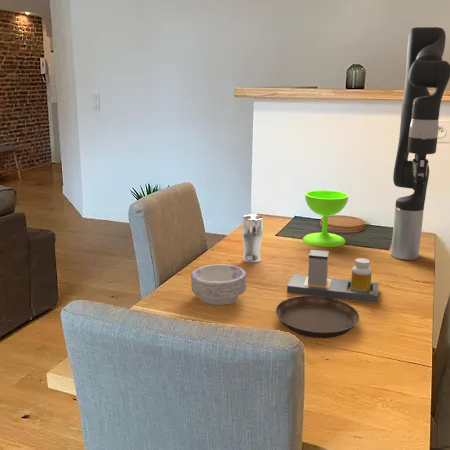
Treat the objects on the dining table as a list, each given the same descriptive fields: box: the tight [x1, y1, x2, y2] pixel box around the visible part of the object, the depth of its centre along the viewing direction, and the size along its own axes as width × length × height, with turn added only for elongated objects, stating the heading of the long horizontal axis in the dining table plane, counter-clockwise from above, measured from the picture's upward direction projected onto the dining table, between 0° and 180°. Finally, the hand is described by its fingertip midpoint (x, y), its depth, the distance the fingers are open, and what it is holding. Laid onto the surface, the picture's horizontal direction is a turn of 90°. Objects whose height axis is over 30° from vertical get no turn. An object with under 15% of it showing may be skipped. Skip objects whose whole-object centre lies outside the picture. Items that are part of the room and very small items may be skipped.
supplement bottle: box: [350, 257, 373, 293], centre depth 149 cm, size 5×5×10 cm
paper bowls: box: [190, 263, 247, 306], centre depth 145 cm, size 15×15×8 cm
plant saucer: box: [275, 295, 360, 339], centre depth 132 cm, size 21×21×3 cm
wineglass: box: [302, 189, 349, 248], centre depth 198 cm, size 16×16×18 cm
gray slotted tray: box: [286, 249, 379, 304], centre depth 151 cm, size 10×25×11 cm, turn 73°
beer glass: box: [241, 214, 264, 264], centre depth 176 cm, size 7×7×15 cm
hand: (417, 193), depth 150 cm, fingers open, 8 cm apart
